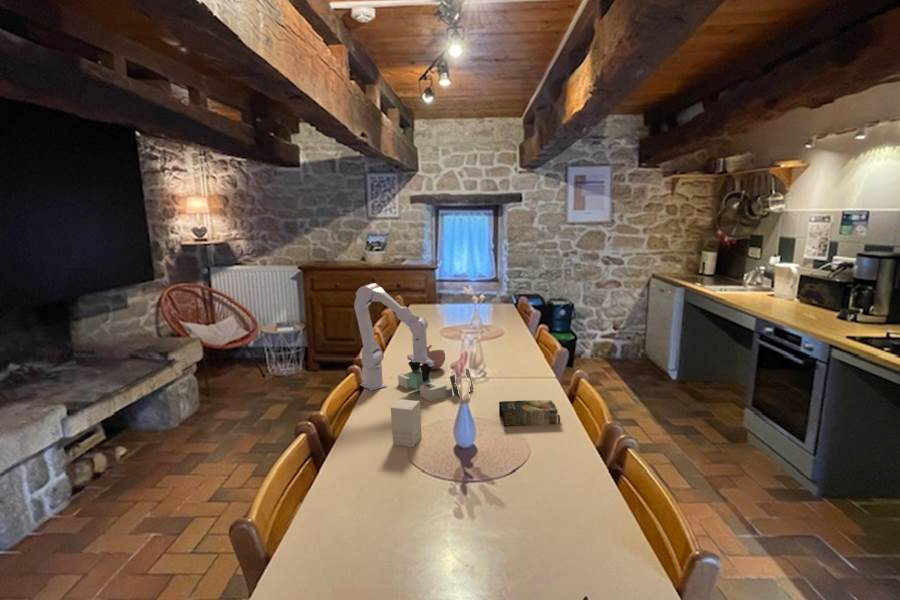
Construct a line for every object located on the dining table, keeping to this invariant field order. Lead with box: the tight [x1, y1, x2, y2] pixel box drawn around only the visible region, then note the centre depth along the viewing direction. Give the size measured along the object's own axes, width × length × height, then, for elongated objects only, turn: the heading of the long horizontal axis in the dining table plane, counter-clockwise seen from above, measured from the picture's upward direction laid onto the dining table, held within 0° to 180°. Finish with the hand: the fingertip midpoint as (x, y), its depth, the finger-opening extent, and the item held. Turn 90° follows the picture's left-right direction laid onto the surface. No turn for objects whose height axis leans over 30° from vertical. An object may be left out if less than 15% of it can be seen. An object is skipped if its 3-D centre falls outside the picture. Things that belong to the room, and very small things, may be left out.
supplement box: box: [390, 398, 423, 448], centre depth 149 cm, size 7×7×13 cm
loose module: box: [409, 369, 431, 390], centre depth 192 cm, size 5×7×6 cm
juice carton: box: [498, 399, 561, 427], centre depth 163 cm, size 20×10×6 cm, turn 92°
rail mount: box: [397, 370, 453, 402], centre depth 194 cm, size 26×10×5 cm, turn 37°
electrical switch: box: [449, 368, 475, 397], centre depth 190 cm, size 9×5×9 cm, turn 141°
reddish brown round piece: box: [420, 344, 446, 371], centre depth 219 cm, size 12×12×11 cm
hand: (421, 379), depth 193 cm, fingers closed on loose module, 5 cm apart
